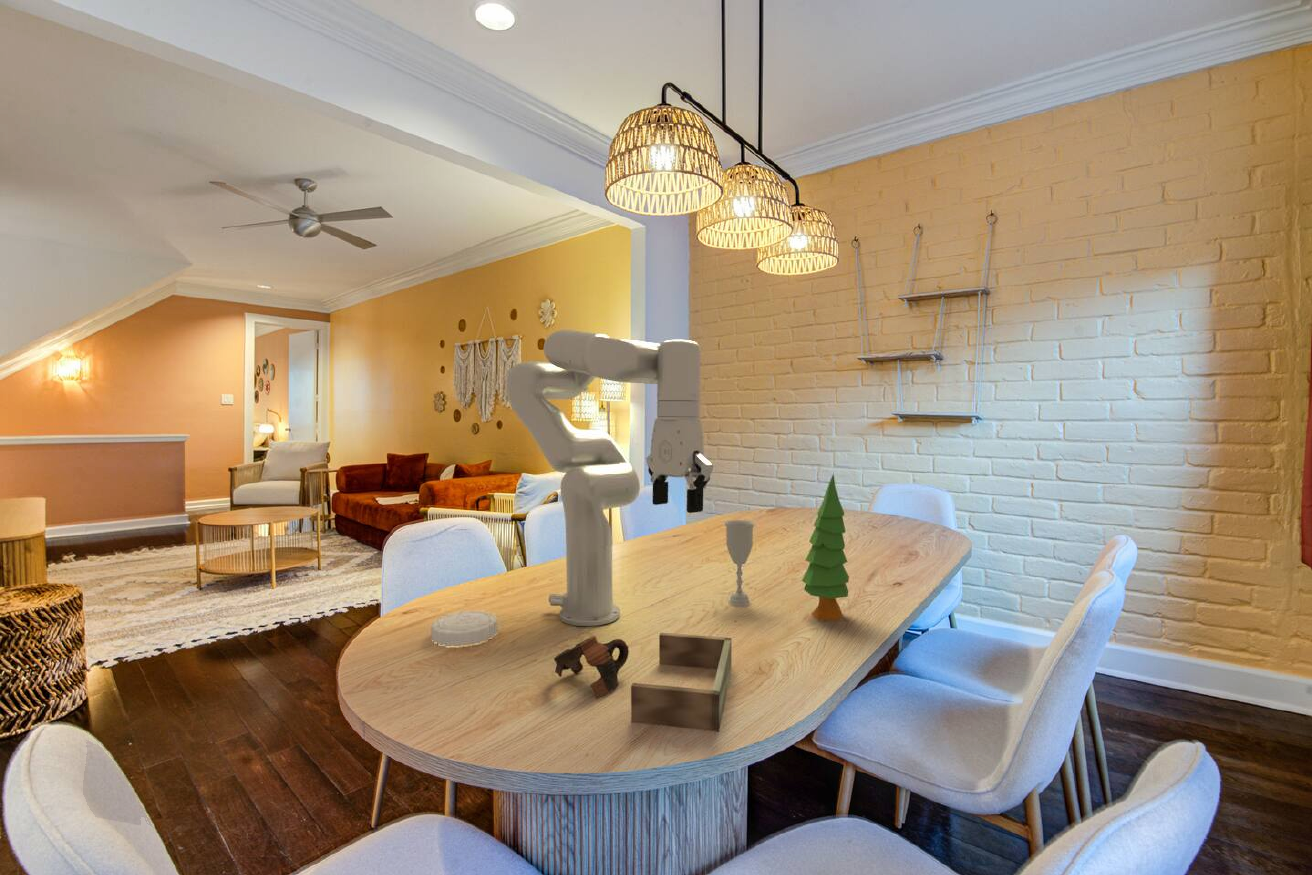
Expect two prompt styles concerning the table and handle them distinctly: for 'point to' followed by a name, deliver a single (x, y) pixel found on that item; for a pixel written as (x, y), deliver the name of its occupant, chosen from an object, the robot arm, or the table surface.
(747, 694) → the table surface
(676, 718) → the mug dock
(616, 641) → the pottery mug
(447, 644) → the mooncake
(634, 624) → the table surface
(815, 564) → the decorative tree
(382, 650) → the table surface
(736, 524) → the chalice
